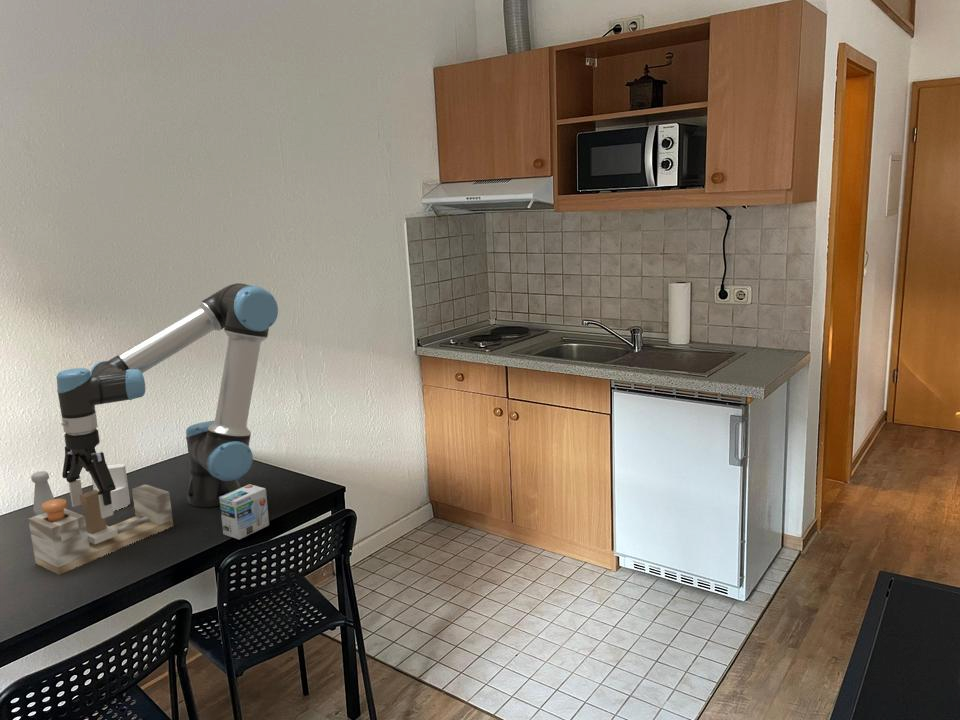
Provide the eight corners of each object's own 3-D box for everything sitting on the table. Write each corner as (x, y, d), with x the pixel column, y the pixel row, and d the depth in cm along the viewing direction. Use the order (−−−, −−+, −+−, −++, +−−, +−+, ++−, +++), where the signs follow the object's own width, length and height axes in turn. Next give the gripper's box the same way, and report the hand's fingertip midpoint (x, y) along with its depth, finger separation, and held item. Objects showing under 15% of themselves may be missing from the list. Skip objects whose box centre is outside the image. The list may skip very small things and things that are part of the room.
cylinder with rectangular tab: (132, 497, 227) (126, 459, 224) (128, 509, 218) (122, 470, 216) (99, 502, 224) (93, 464, 221) (94, 514, 216) (88, 474, 213)
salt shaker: (47, 520, 212) (40, 477, 209) (29, 519, 213) (22, 476, 210) (62, 512, 218) (55, 469, 215) (45, 510, 219) (38, 468, 216)
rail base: (149, 517, 212) (144, 477, 209) (173, 526, 206) (168, 484, 203) (35, 563, 187) (28, 518, 184) (59, 574, 181) (51, 528, 178)
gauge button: (62, 517, 188) (59, 497, 187) (73, 521, 185) (70, 501, 184) (41, 525, 184) (37, 504, 183) (52, 529, 181) (48, 508, 180)
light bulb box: (239, 540, 196) (235, 501, 194) (222, 535, 200) (217, 496, 197) (270, 524, 205) (266, 487, 203) (253, 519, 208) (249, 483, 206)
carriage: (98, 527, 198) (92, 485, 196) (117, 535, 193) (111, 492, 191) (75, 536, 194) (69, 493, 191) (95, 544, 189) (88, 500, 186)
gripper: (39, 427, 191) (52, 505, 196) (94, 443, 178) (105, 526, 182) (69, 419, 197) (80, 495, 202) (123, 434, 184) (134, 515, 188)
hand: (92, 510), depth 192 cm, fingers open, 13 cm apart
